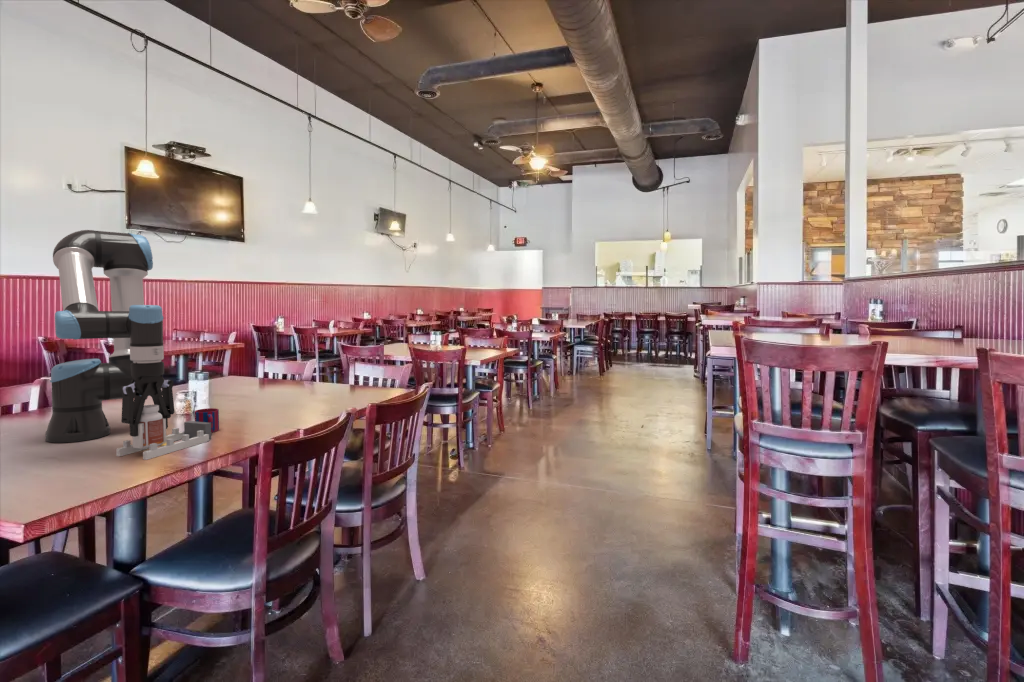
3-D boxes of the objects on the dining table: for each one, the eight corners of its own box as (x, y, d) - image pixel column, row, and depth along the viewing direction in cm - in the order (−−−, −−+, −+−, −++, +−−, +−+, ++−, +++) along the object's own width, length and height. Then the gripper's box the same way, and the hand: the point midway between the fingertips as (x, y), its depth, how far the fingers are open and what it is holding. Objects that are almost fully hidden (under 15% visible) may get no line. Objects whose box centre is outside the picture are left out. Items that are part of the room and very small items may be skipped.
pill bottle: (165, 441, 147) (164, 403, 146) (161, 447, 141) (160, 407, 140) (138, 443, 144) (137, 404, 143) (133, 449, 138) (132, 409, 138)
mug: (218, 427, 172) (217, 407, 171) (220, 434, 164) (220, 413, 163) (194, 430, 168) (194, 409, 168) (196, 436, 160) (195, 415, 159)
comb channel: (116, 456, 139) (115, 437, 138) (187, 436, 160) (186, 420, 160) (146, 459, 136) (146, 441, 136) (214, 439, 157) (214, 423, 157)
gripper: (123, 365, 131) (126, 455, 132) (188, 358, 149) (190, 437, 151) (100, 364, 133) (104, 452, 134) (168, 357, 151) (170, 434, 153)
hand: (149, 444), depth 143 cm, fingers closed on pill bottle, 6 cm apart
